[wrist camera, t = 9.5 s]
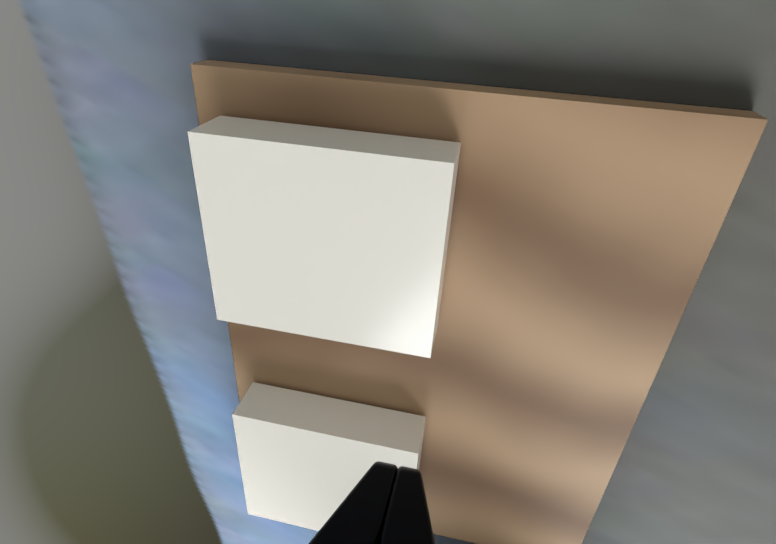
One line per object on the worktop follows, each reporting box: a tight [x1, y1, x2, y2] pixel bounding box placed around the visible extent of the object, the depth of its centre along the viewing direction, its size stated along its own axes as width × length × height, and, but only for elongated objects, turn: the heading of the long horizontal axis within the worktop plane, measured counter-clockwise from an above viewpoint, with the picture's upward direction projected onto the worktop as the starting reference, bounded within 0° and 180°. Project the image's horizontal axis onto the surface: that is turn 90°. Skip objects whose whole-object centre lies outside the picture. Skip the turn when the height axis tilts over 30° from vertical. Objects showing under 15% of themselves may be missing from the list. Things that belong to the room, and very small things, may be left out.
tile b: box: [188, 116, 461, 358], centre depth 17 cm, size 7×2×8 cm
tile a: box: [232, 382, 426, 531], centre depth 23 cm, size 7×2×8 cm
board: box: [191, 60, 768, 544], centre depth 21 cm, size 22×17×1 cm
